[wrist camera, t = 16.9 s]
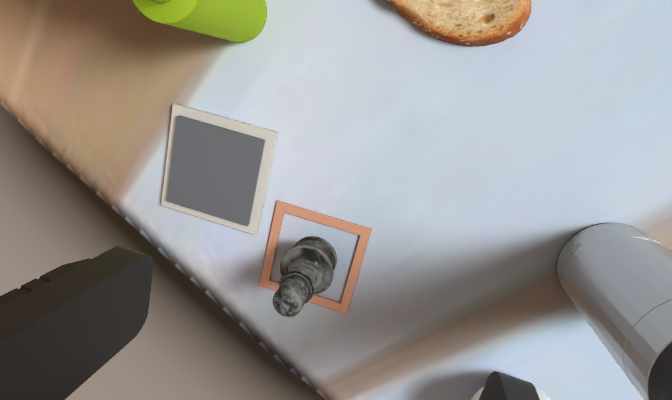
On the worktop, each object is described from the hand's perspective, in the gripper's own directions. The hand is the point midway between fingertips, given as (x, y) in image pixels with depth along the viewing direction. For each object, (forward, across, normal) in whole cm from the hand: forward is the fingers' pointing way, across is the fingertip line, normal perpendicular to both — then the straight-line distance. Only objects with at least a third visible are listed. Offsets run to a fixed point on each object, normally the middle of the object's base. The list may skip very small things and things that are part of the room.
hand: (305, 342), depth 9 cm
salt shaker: (+34, +5, +15) cm, 38 cm away
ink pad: (+34, +18, +8) cm, 39 cm away
